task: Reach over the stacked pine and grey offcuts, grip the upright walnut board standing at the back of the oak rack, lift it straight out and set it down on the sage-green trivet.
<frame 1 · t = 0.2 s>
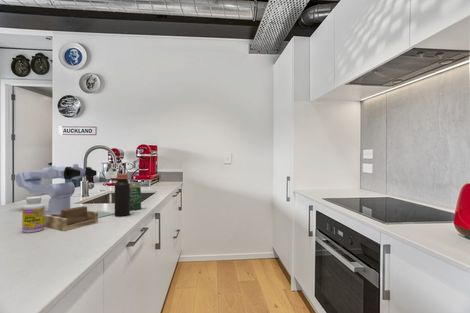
hand: (88, 173, 115), 21 cm above the worktop, tool horizontal, fingers open, 7 cm apart
supplement bottle: (33, 231, 99), on the worktop
coffee box: (132, 210, 138), on the worktop
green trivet: (95, 215, 125), on the worktop
pine offcut: (61, 223, 111), on the worktop, touching grey offcut
oak rack: (68, 223, 109), on the worktop
walnut board: (74, 225, 107), on the worktop
grey offcut: (62, 218, 111), point 2 cm above the worktop, touching pine offcut
vinegar: (122, 215, 125), on the worktop
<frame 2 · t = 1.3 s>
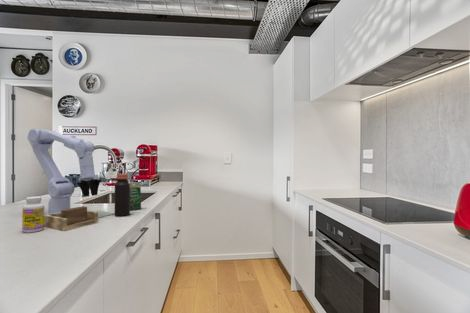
hand: (90, 195, 120), 10 cm above the worktop, tool pointing down, fingers open, 7 cm apart
nothing on the worktop moved.
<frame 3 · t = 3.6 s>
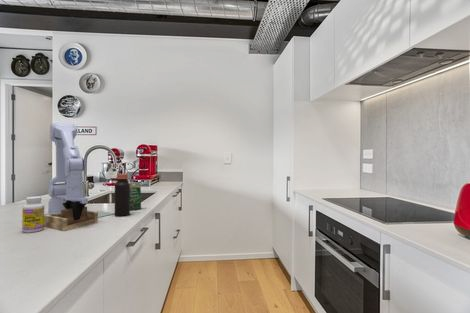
hand: (74, 219, 107), 2 cm above the worktop, tool pointing down, fingers closed on walnut board, 3 cm apart
walnut board: (74, 225, 107), on the worktop, touching gripper
everything else where it was.
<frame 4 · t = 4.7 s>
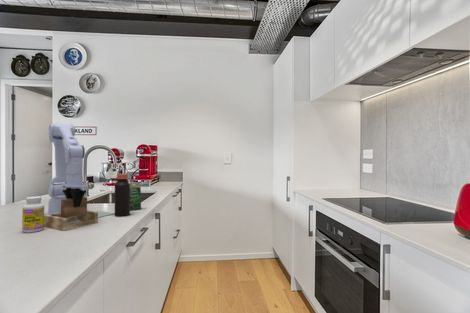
hand: (74, 206, 107), 8 cm above the worktop, tool pointing down, fingers closed on walnut board, 3 cm apart
walnut board: (74, 215, 107), point 4 cm above the worktop, touching gripper
everything else where it was.
when the fingers open (10 cm above the worktop, at t = 6.1 s): walnut board drops 2 cm, resting on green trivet.
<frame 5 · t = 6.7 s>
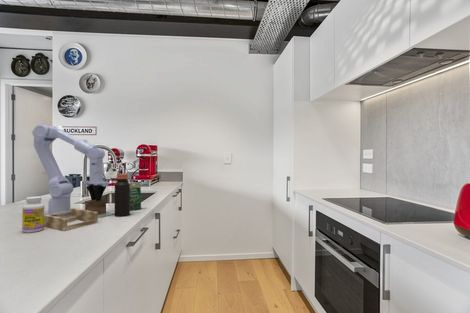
hand: (96, 200, 125), 7 cm above the worktop, tool pointing down, fingers open, 3 cm apart
pine offcut: (61, 223, 111), on the worktop
walnut board: (95, 214, 125), resting on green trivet, touching gripper
grey offcut: (61, 218, 111), point 2 cm above the worktop
everything else where it was.
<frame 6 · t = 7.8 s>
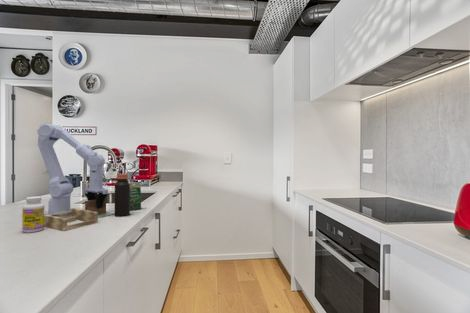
hand: (96, 207, 125), 4 cm above the worktop, tool pointing down, fingers open, 5 cm apart
pine offcut: (62, 223, 111), on the worktop, touching grey offcut
walnut board: (95, 214, 125), resting on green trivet
grey offcut: (62, 218, 111), point 2 cm above the worktop, touching pine offcut
everything else where it was.
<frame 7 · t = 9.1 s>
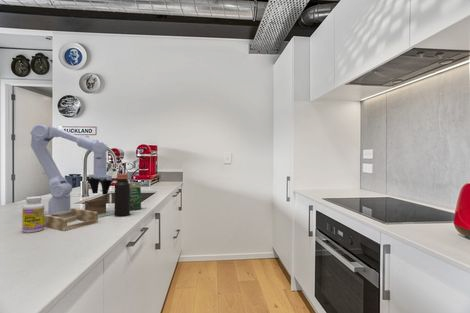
hand: (100, 193, 128), 10 cm above the worktop, tool pointing down, fingers open, 7 cm apart
nothing on the worktop moved.
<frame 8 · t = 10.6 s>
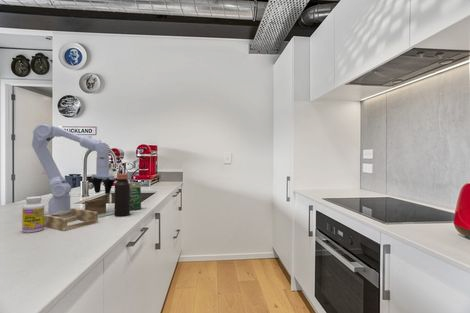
hand: (102, 193, 130), 10 cm above the worktop, tool pointing down, fingers open, 7 cm apart
pine offcut: (62, 223, 111), on the worktop
grey offcut: (61, 218, 111), point 2 cm above the worktop
everything else where it was.
at the end: walnut board inside the target area on the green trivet (0.3 cm from its centre), point 0.4 cm above the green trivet's base; walnut board moved 17.7 cm from its start; the gripper is holding nothing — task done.
